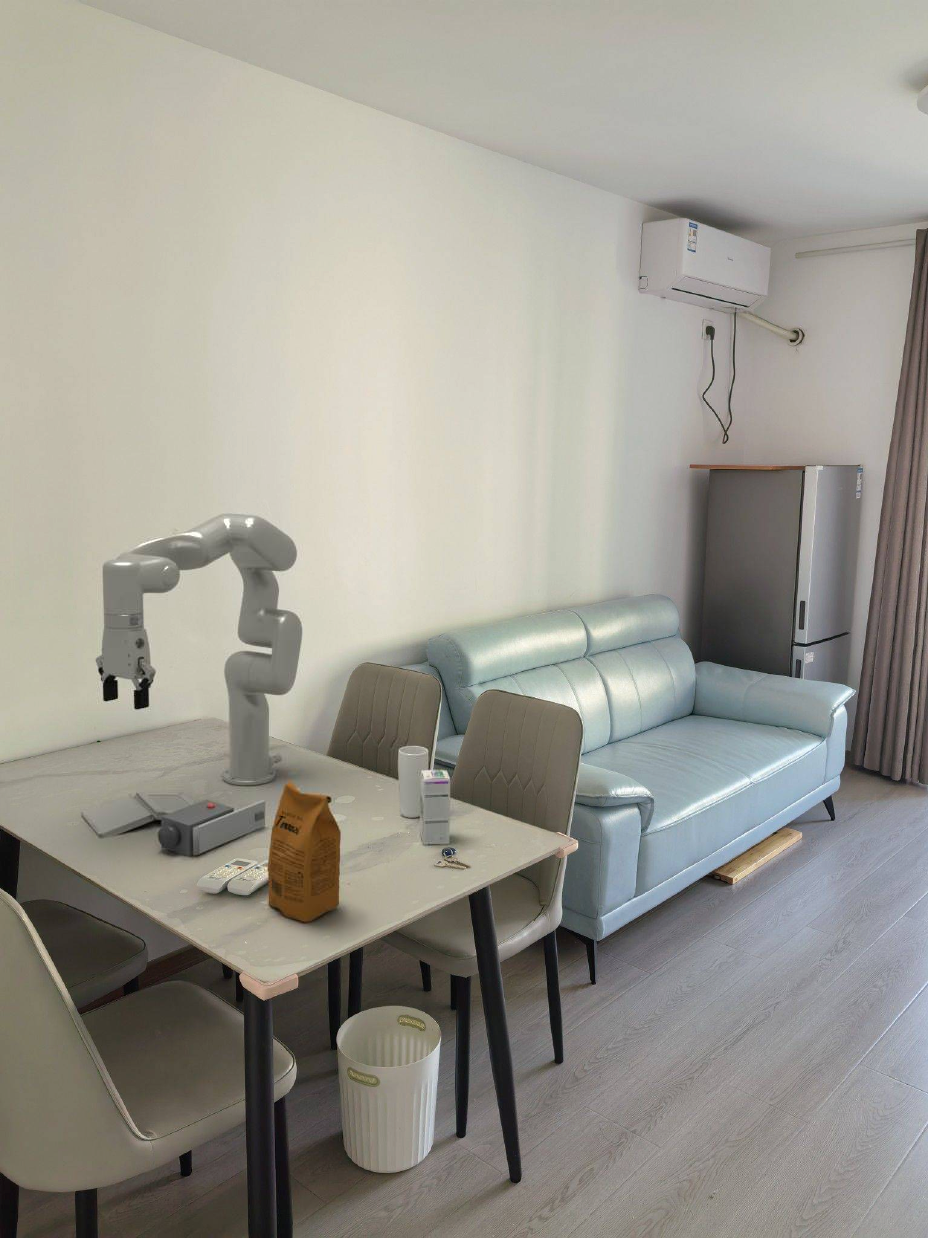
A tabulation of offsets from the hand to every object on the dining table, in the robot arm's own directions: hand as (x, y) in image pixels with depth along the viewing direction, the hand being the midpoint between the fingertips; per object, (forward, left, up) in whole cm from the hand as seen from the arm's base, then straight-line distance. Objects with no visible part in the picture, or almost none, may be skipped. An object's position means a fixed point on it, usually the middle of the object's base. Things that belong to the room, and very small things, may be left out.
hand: (126, 704), depth 194 cm
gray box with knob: (-5, +15, -28) cm, 32 cm away
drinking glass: (-44, +41, -28) cm, 66 cm away
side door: (-9, +20, -27) cm, 35 cm away
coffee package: (+4, +51, -28) cm, 58 cm away
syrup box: (-35, +53, -28) cm, 69 cm away
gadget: (-8, -5, -29) cm, 30 cm away
